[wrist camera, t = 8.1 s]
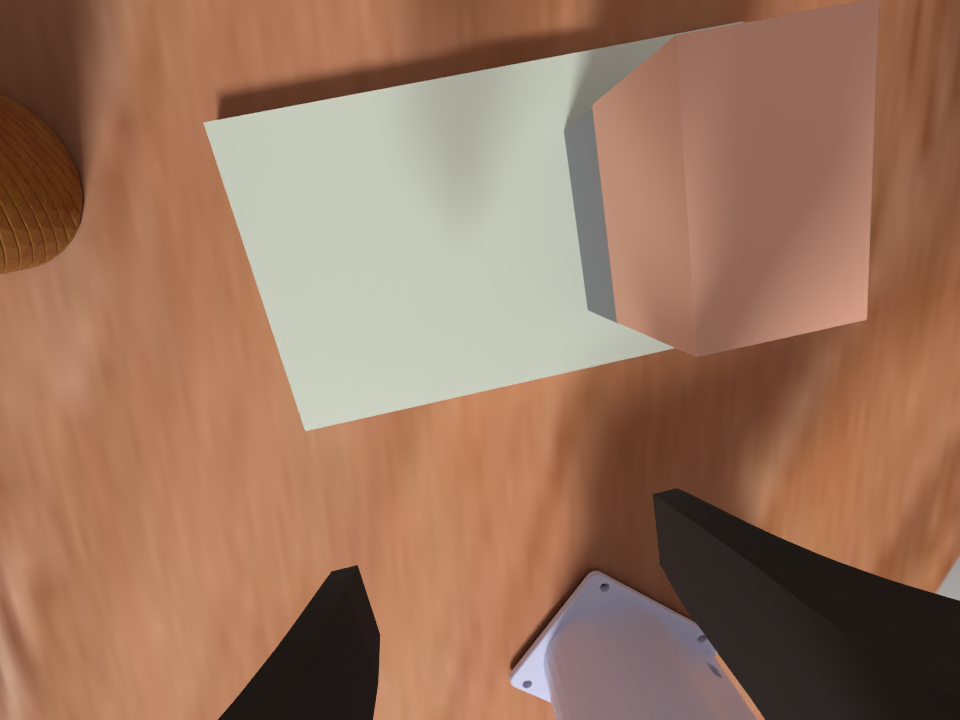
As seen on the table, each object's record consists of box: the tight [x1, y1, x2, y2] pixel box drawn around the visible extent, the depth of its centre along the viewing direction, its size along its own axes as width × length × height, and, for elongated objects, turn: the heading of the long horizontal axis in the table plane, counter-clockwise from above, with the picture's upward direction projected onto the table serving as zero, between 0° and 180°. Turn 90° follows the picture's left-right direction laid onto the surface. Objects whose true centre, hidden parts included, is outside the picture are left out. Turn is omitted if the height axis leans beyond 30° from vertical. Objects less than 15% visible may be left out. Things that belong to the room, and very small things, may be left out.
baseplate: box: [204, 21, 743, 431], centre depth 19 cm, size 20×12×1 cm, turn 101°
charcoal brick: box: [564, 108, 619, 324], centre depth 17 cm, size 4×7×3 cm, turn 11°
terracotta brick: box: [592, 0, 879, 357], centre depth 13 cm, size 4×7×5 cm, turn 10°
